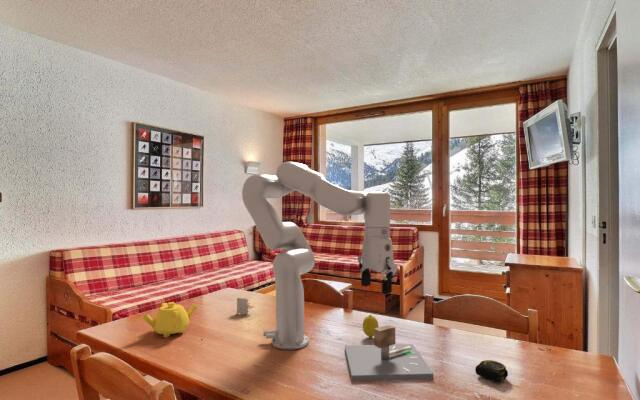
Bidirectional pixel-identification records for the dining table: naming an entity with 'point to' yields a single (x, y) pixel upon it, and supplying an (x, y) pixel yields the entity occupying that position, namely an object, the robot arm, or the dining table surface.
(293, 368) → the dining table surface
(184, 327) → the teapot
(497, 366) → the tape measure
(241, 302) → the architectural model
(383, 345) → the wooden block with handle
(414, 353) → the board
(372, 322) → the lemon
